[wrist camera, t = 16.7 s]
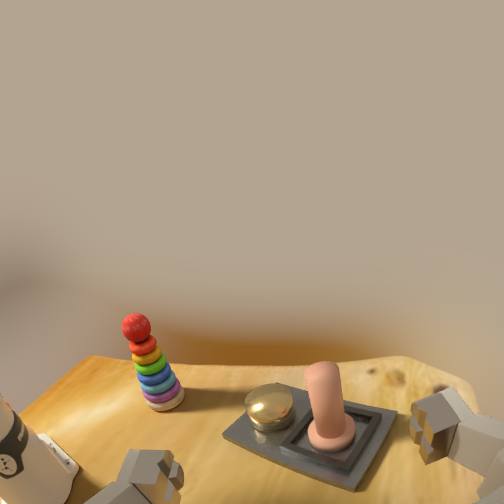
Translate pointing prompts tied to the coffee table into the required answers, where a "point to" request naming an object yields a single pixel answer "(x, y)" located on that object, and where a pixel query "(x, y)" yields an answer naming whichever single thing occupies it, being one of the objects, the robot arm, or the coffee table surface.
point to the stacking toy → (151, 365)
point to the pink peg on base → (328, 409)
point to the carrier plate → (296, 435)
